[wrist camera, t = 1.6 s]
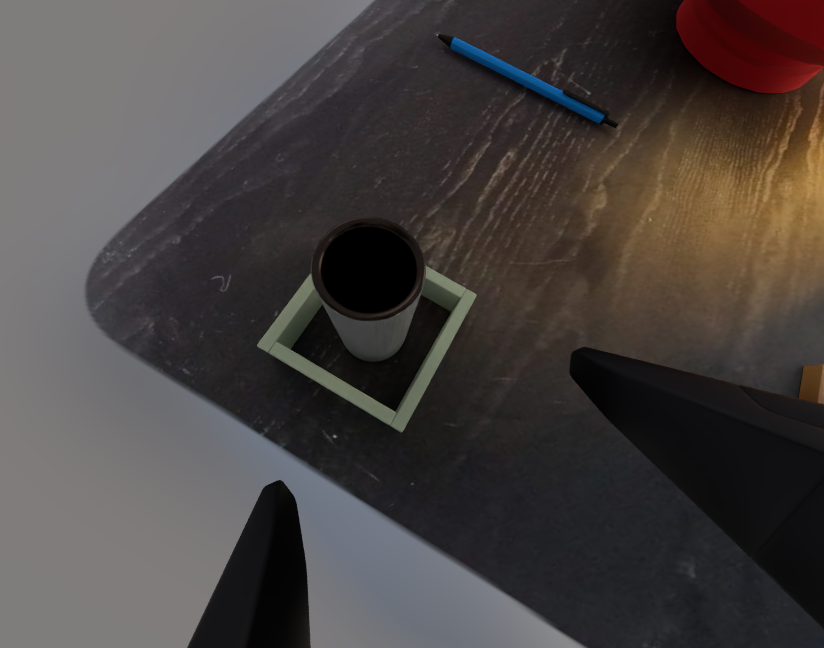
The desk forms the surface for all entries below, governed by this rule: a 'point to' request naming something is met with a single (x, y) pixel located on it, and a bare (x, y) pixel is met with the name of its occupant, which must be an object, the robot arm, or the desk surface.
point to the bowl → (755, 40)
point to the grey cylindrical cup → (369, 284)
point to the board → (812, 384)
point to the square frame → (280, 346)
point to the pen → (530, 81)
